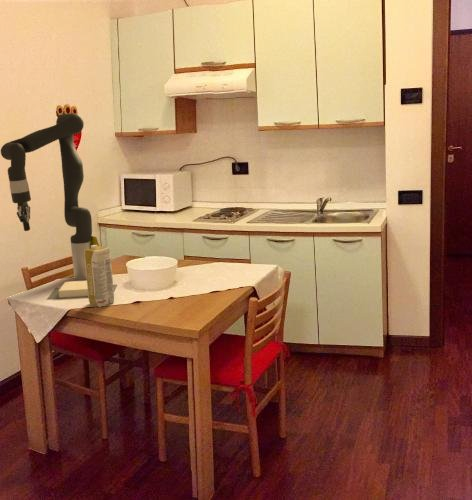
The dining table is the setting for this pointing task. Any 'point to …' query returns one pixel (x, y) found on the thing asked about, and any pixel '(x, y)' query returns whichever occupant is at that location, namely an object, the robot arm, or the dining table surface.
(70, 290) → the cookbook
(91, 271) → the juice carton
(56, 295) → the mat
